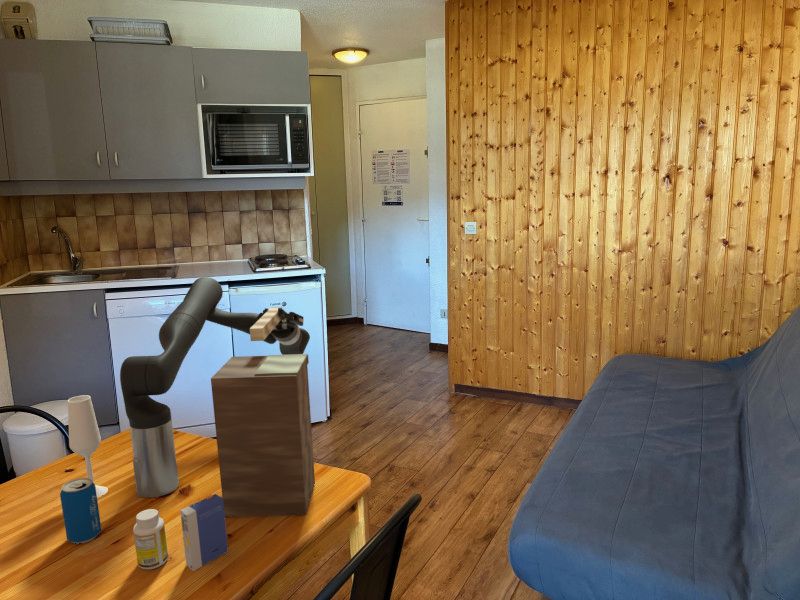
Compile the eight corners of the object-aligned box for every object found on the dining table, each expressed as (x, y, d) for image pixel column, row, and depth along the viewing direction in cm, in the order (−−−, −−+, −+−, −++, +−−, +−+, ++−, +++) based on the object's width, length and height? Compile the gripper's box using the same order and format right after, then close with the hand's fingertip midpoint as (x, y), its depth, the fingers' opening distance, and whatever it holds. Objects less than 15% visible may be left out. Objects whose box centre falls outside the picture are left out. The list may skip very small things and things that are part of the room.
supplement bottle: (159, 549, 119) (153, 503, 117) (174, 560, 116) (168, 512, 114) (132, 563, 115) (126, 515, 113) (146, 575, 112) (140, 525, 110)
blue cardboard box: (220, 546, 120) (215, 492, 118) (228, 551, 118) (223, 496, 116) (184, 565, 114) (178, 508, 112) (192, 571, 112) (186, 513, 110)
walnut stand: (243, 481, 146) (231, 355, 140) (316, 479, 146) (307, 352, 140) (224, 517, 130) (210, 376, 124) (306, 515, 130) (296, 373, 124)
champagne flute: (75, 503, 139) (61, 405, 134) (78, 490, 145) (64, 396, 140) (107, 496, 141) (94, 400, 137) (108, 483, 147) (95, 392, 143)
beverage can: (87, 547, 121) (79, 493, 119) (60, 544, 122) (51, 491, 120) (108, 529, 127) (101, 477, 125) (82, 527, 129) (74, 475, 126)
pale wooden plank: (271, 318, 162) (271, 307, 161) (282, 317, 162) (282, 307, 161) (250, 341, 138) (249, 328, 138) (263, 340, 138) (262, 328, 138)
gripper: (261, 318, 173) (246, 298, 157) (309, 316, 173) (299, 297, 157) (260, 342, 171) (245, 326, 155) (309, 341, 171) (298, 324, 155)
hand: (272, 311), depth 156 cm, fingers closed on pale wooden plank, 3 cm apart
